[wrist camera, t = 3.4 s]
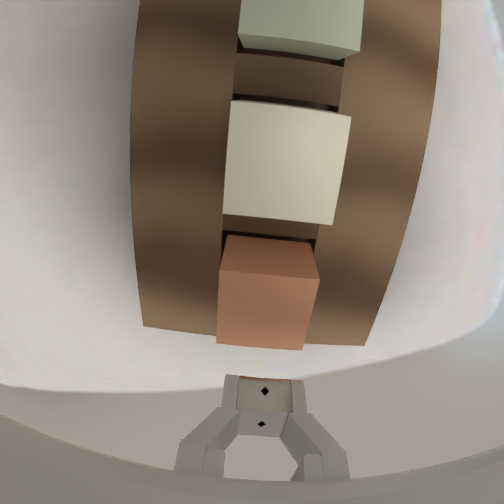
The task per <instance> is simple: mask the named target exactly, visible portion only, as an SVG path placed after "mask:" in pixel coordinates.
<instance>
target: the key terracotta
mask: <svg viewBox="0 0 504 504" xmlns="http://www.w3.org/2000/svg"><path fill="white" fill-rule="evenodd" d="M319 282H320V278H319V274H318V270H317V266H316V263H315V259H314V256H313V252H312V248H311V245H310V243H305V242H295V241H285V240H276V239H266V238H256V237H246V236H236V235H228V236H227V240H226V244H225V248H224V252H223V257H222V261H221V265H220V269H219V288H218V311H217V338H216V343H219V344H228V345H238V346H248V347H260V348H272V349H287V350H302V348H303V344H304V340H305V337H306V333H307V329H308V326H309V322H310V318H311V314H312V310H313V306H314V302H315V298H316V294H317V290H318V286H319Z"/></svg>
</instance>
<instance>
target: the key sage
mask: <svg viewBox="0 0 504 504" xmlns="http://www.w3.org/2000/svg"><path fill="white" fill-rule="evenodd" d="M363 8H364V0H242V1H241V10H240V18H239V27H238V36H239V38H240V40H241V43H242V45H243V47H244V48H253V49H264V50H274V51H282V52H290V53H298V54H304V55H311V56H317V57H323V58H328V59H333V60H340V59H343V58H345V57H348V56H350V55H352V54H355V53H357V52H360V43H361V33H362V21H363Z"/></svg>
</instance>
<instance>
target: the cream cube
mask: <svg viewBox="0 0 504 504" xmlns="http://www.w3.org/2000/svg"><path fill="white" fill-rule="evenodd" d="M350 124H351V117H350V116H347V115H343V114H339V113H336V112H332V111H327V110H321V109H314V108H308V107H301V106H294V105H286V104H278V103H269V102H259V101H248V100H234V101H231V108H230V119H229V131H228V143H227V156H226V170H225V184H224V198H223V214H232V215H242V216H252V217H262V218H272V219H281V220H290V221H299V222H308V223H317V224H325V225H332V224H333V219H334V214H335V209H336V204H337V199H338V194H339V189H340V183H341V178H342V172H343V167H344V161H345V155H346V149H347V143H348V137H349V130H350Z"/></svg>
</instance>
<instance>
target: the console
mask: <svg viewBox="0 0 504 504" xmlns="http://www.w3.org/2000/svg"><path fill="white" fill-rule="evenodd" d="M241 1H242V0H140V7H139V14H138V22H137V31H136V40H135V50H134V61H133V75H132V92H131V117H130V179H131V205H132V223H133V237H134V250H135V261H136V271H137V280H138V289H139V297H140V305H141V312H142V319H143V326H146V327H153V328H160V329H166V330H173V331H181V332H188V333H196V334H204V335H213V336H217V311H218V288H219V269H220V265H221V261H222V257H223V252H224V248H225V244H226V240H227V236H228V235H236V236H246V237H256V238H266V239H276V240H285V241H295V242H305V243H310V245H311V248H312V252H313V256H314V259H315V263H316V266H317V270H318V274H319V278H320V282H319V286H318V290H317V294H316V298H315V302H314V306H313V310H312V314H311V318H310V322H309V326H308V329H307V333H306V337H305V340H304V343H307V344H327V345H358V346H364V345H365V343H366V340H367V338H368V336H369V333H370V331H371V328H372V326H373V323H374V321H375V318H376V316H377V313H378V310H379V308H380V305H381V302H382V300H383V297H384V294H385V292H386V289H387V286H388V283H389V280H390V277H391V274H392V272H393V269H394V266H395V262H396V259H397V256H398V253H399V250H400V247H401V244H402V240H403V237H404V234H405V230H406V227H407V223H408V220H409V216H410V212H411V209H412V205H413V201H414V197H415V193H416V189H417V185H418V181H419V176H420V172H421V168H422V163H423V158H424V153H425V148H426V143H427V138H428V133H429V127H430V121H431V115H432V109H433V102H434V95H435V87H436V78H437V69H438V59H439V46H440V30H441V0H364V8H363V21H362V33H361V43H360V52H357V53H355V54H352V55H350V56H348V57H345V58H343V59H340V60H333V59H328V58H323V57H317V56H311V55H304V54H298V53H290V52H282V51H274V50H264V49H253V48H244V47H243V45H242V43H241V40H240V38H239V36H238V27H239V18H240V10H241ZM234 100H248V101H259V102H269V103H278V104H286V105H294V106H301V107H308V108H314V109H321V110H327V111H332V112H336V113H339V114H343V115H347V116H350V117H351V124H350V130H349V137H348V143H347V149H346V155H345V161H344V167H343V172H342V178H341V183H340V189H339V194H338V199H337V204H336V209H335V214H334V219H333V224H332V225H325V224H317V223H308V222H299V221H290V220H281V219H272V218H262V217H252V216H242V215H232V214H223V198H224V184H225V170H226V156H227V143H228V131H229V119H230V108H231V101H234Z"/></svg>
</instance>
